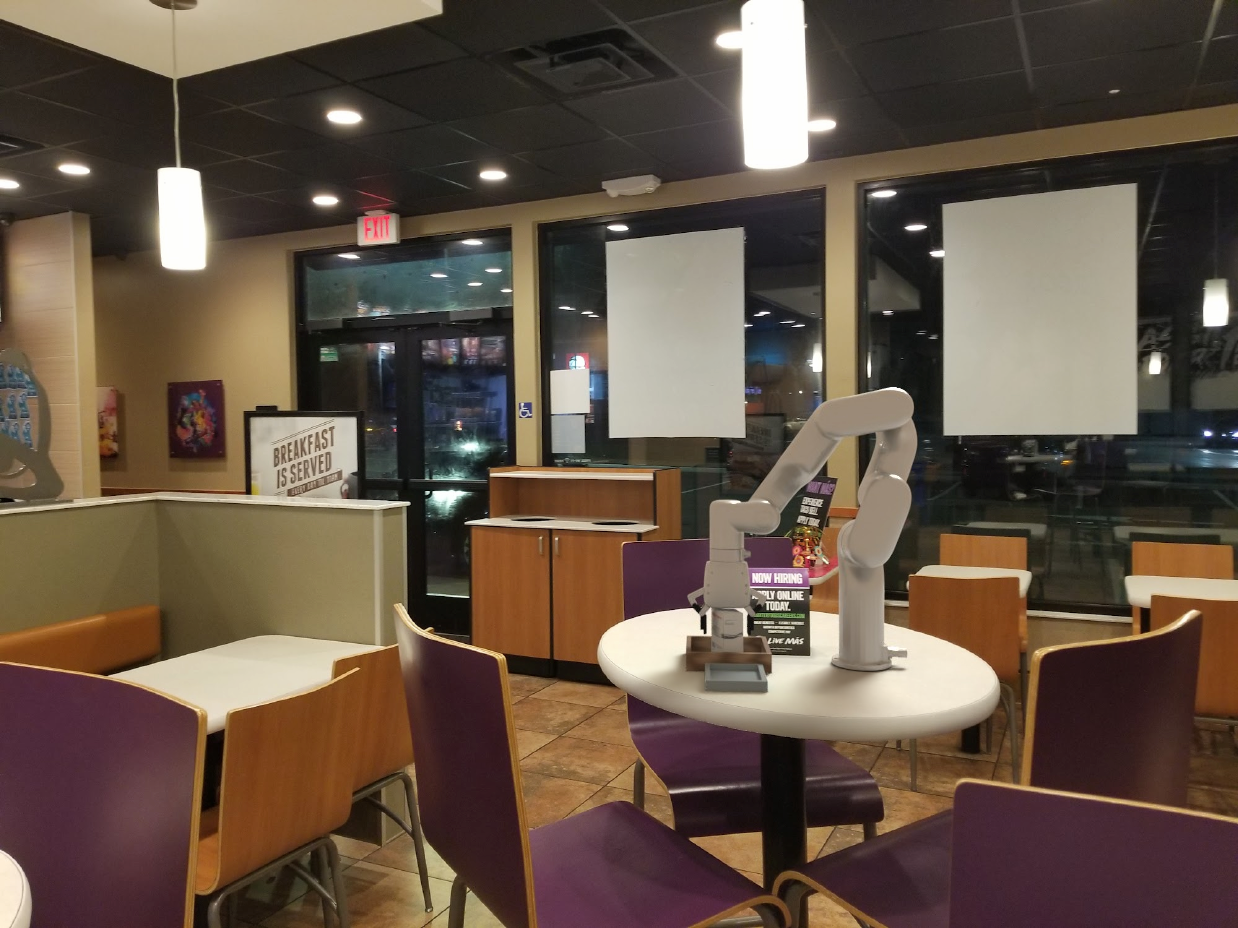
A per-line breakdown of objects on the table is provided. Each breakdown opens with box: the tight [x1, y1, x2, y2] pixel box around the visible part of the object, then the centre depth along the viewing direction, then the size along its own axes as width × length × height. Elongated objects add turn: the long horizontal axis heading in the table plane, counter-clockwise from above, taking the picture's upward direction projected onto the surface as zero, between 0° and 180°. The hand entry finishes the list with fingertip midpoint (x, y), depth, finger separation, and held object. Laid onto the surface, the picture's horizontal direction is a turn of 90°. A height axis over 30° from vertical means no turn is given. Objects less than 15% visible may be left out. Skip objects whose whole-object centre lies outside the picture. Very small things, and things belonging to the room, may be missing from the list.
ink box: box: [710, 608, 744, 652], centre depth 193 cm, size 9×5×12 cm, turn 12°
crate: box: [685, 635, 773, 674], centre depth 193 cm, size 18×17×4 cm
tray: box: [704, 663, 769, 693], centre depth 177 cm, size 12×14×2 cm
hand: (726, 633), depth 193 cm, fingers open, 9 cm apart
